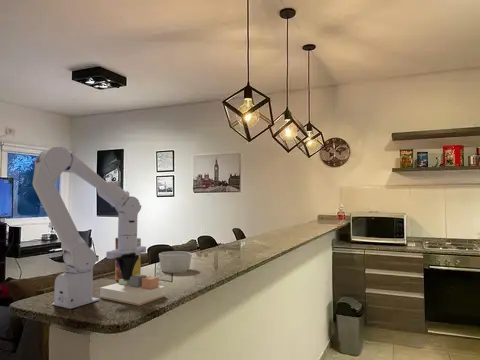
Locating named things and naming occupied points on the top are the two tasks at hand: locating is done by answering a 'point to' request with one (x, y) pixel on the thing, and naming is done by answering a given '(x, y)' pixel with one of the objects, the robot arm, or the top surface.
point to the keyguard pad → (131, 294)
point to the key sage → (124, 282)
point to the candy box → (136, 268)
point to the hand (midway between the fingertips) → (126, 278)
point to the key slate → (136, 280)
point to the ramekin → (175, 261)
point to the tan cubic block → (150, 282)
